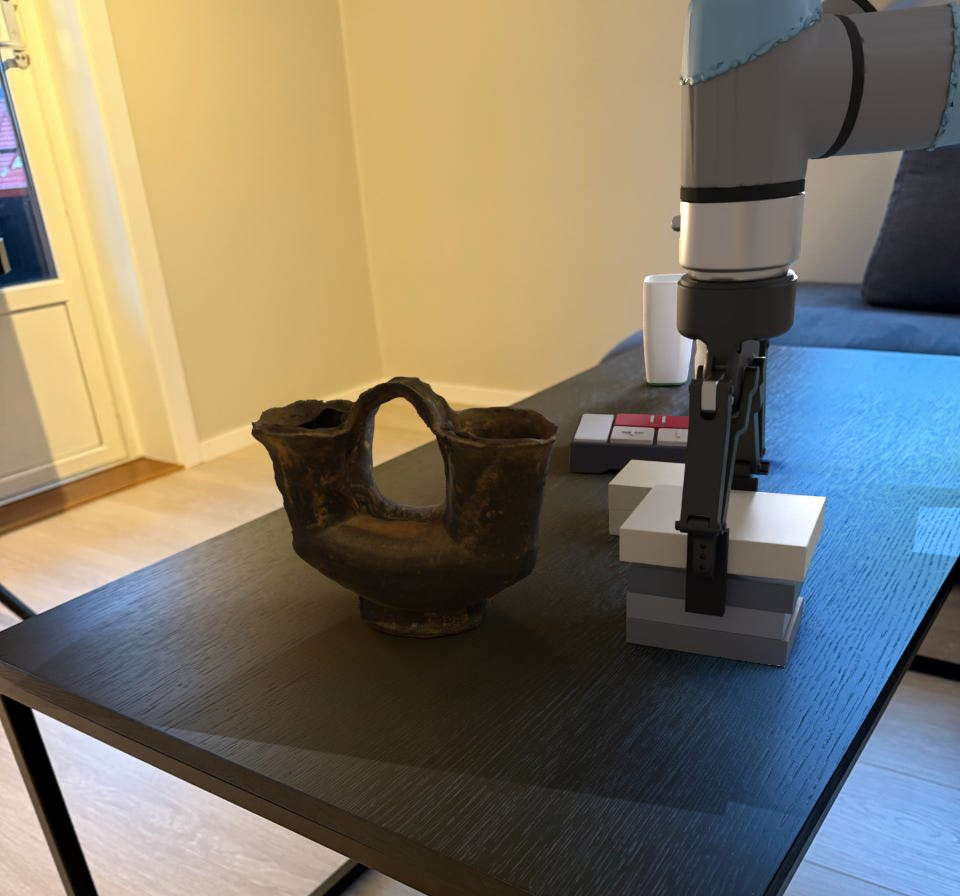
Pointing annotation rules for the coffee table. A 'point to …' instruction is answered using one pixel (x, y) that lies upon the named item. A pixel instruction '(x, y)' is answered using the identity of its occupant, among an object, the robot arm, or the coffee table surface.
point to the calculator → (626, 441)
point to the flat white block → (731, 532)
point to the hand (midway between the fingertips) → (720, 582)
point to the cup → (663, 332)
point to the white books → (638, 487)
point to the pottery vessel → (413, 529)
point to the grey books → (737, 635)
